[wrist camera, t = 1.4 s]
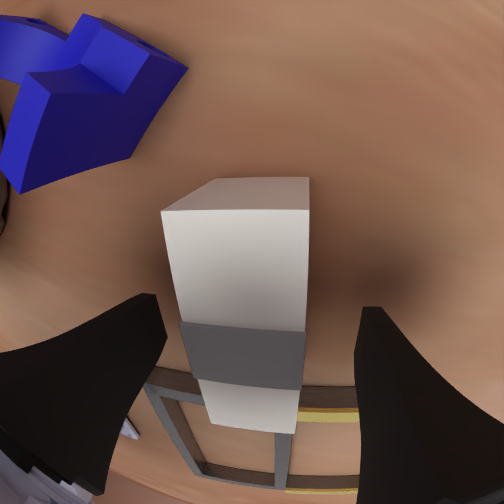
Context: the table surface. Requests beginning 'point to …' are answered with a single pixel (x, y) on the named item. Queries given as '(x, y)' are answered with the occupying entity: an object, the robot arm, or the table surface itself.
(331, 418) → the rack
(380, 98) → the table surface
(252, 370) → the white banded pillar
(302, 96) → the table surface
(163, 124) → the table surface
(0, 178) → the plant pot
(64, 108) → the cable clip
